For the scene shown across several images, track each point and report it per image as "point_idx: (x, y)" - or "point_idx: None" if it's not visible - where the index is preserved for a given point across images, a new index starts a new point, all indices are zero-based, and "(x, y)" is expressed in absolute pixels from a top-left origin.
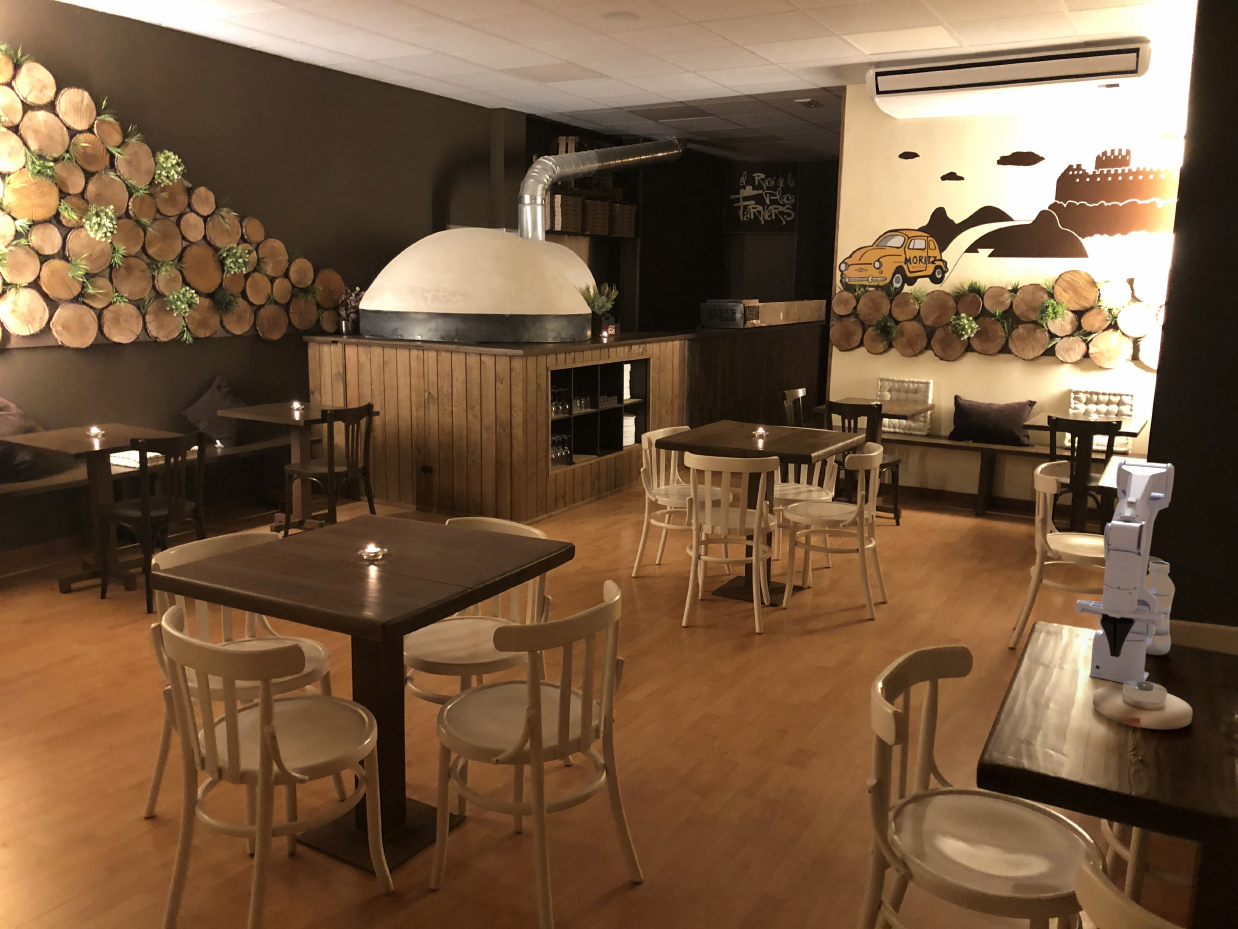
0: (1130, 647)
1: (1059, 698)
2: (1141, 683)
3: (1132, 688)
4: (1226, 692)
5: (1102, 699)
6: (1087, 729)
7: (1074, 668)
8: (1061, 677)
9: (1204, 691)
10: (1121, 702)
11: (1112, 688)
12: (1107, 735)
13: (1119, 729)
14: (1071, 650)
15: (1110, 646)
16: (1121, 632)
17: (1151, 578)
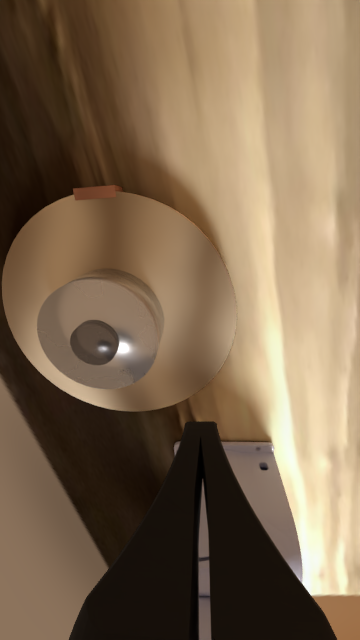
0: (201, 534)
1: (315, 290)
2: (105, 348)
3: (121, 312)
4: (64, 485)
5: (204, 275)
6: (204, 104)
7: (306, 462)
8: (325, 410)
9: (89, 474)
10: (157, 288)
11: (203, 366)
12: (144, 101)
13: (134, 180)
14: (322, 526)
15: (219, 455)
16: (155, 556)
17: None
